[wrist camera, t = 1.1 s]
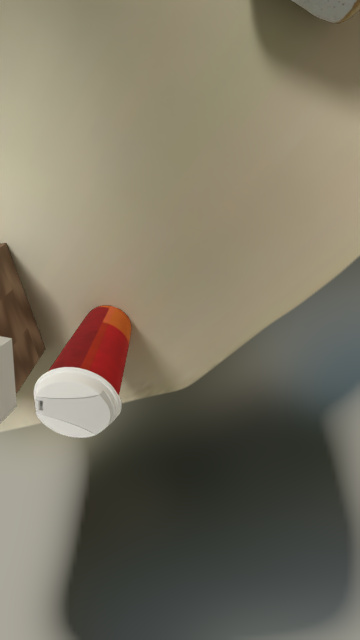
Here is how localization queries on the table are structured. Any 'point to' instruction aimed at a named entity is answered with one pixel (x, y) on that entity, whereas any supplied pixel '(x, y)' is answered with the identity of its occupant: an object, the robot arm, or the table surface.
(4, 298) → the button console
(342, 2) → the ceramic mug
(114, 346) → the paper cup
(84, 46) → the table surface
